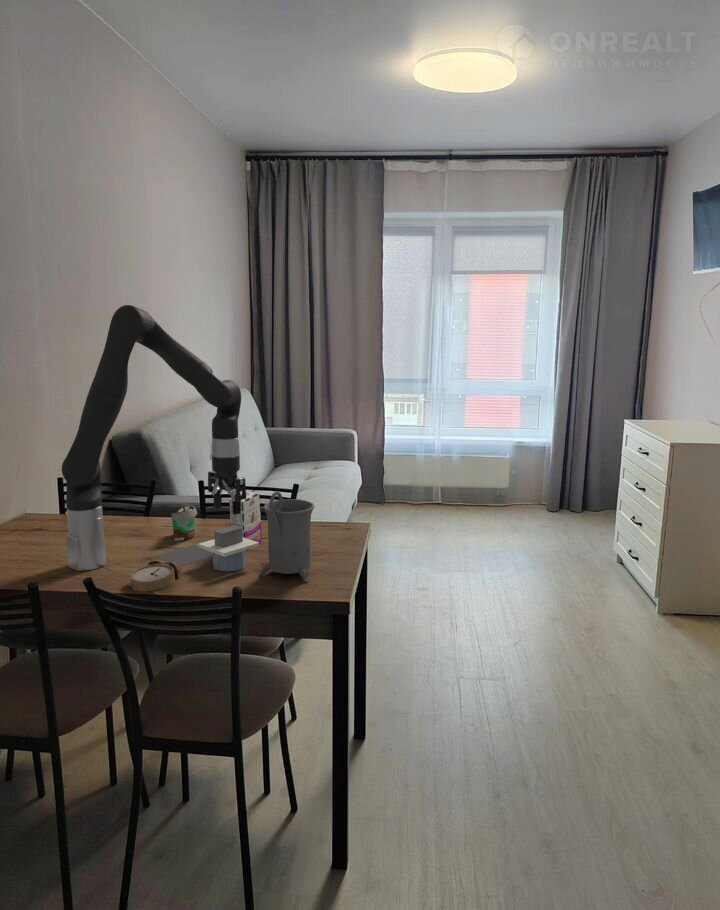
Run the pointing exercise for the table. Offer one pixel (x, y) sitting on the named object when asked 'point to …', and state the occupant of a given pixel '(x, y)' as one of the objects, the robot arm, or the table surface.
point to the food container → (184, 523)
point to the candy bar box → (248, 517)
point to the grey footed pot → (288, 535)
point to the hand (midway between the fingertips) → (227, 511)
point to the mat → (186, 555)
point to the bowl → (229, 561)
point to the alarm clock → (154, 576)
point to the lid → (228, 542)
